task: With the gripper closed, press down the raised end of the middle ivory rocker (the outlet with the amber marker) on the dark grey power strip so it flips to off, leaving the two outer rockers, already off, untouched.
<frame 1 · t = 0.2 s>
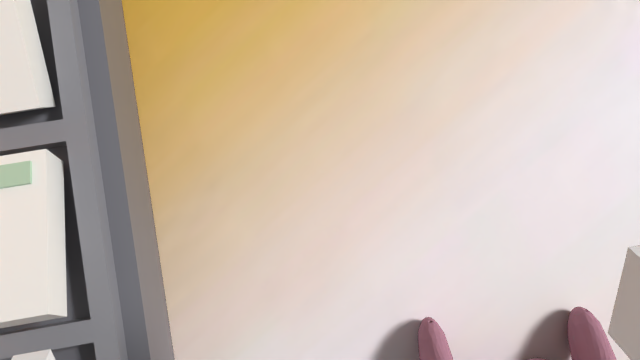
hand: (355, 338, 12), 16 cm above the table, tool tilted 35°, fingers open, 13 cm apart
rocker 2: (7, 239, 22), point 6 cm above the table, hinge at 14.0°
power strip: (69, 235, 28), on the table
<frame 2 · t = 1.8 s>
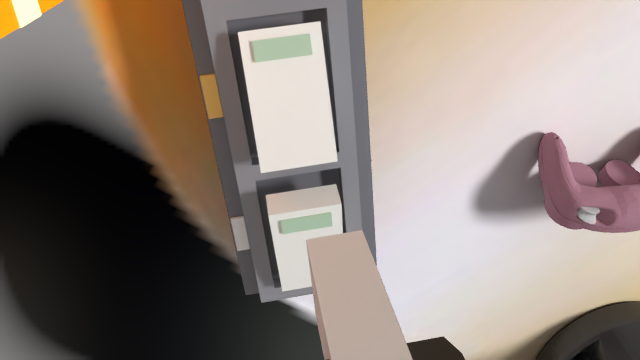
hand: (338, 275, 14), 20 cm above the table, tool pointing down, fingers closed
rocker 1: (307, 241, 31), point 6 cm above the table, hinge at -14.0°
rocker 2: (288, 98, 26), point 6 cm above the table, hinge at 14.0°
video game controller: (588, 160, 39), on the table
power strip: (279, 65, 32), on the table
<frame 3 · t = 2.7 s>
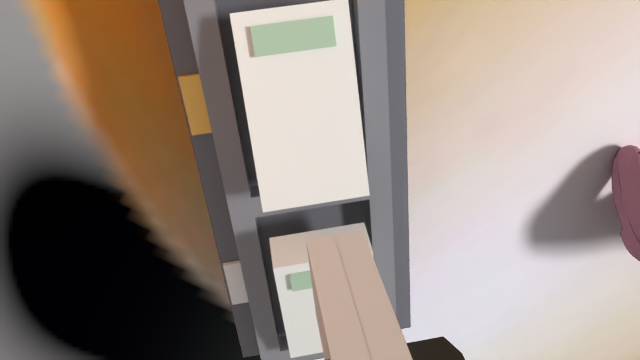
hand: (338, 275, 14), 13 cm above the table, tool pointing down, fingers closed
rocker 1: (325, 296, 23), point 6 cm above the table, hinge at -14.0°
rocker 2: (302, 107, 19), point 6 cm above the table, hinge at 14.0°
power strip: (287, 63, 24), on the table
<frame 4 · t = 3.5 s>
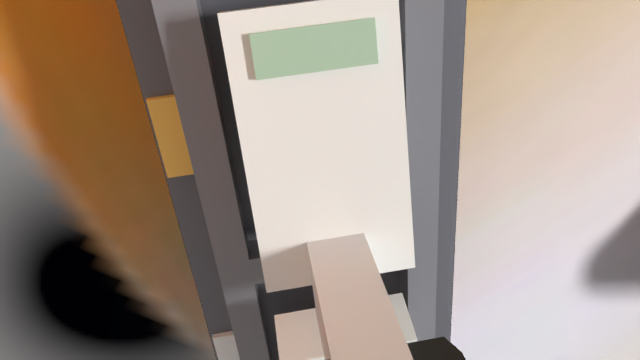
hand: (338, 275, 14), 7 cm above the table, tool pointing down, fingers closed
rocker 2: (322, 146, 13), point 6 cm above the table, hinge at 10.2°, touching gripper
power strip: (297, 72, 18), on the table
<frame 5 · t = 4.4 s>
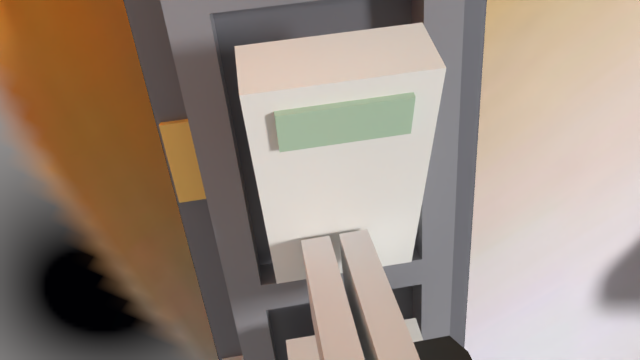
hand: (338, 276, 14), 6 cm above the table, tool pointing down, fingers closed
rocker 2: (339, 175, 13), point 6 cm above the table, hinge at -19.9°, touching gripper
power strip: (309, 93, 18), on the table
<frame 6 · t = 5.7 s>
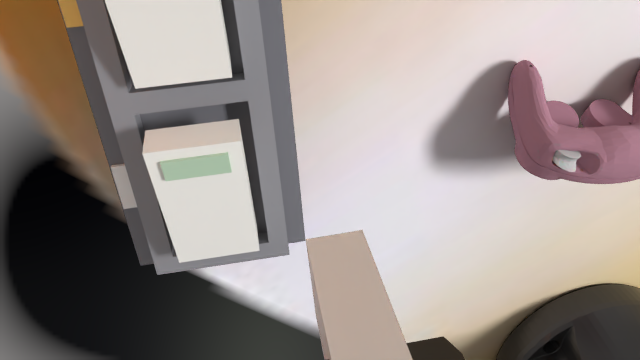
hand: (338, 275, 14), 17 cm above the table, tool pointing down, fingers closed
rocker 1: (207, 196, 24), point 6 cm above the table, hinge at -11.4°
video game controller: (569, 100, 32), on the table
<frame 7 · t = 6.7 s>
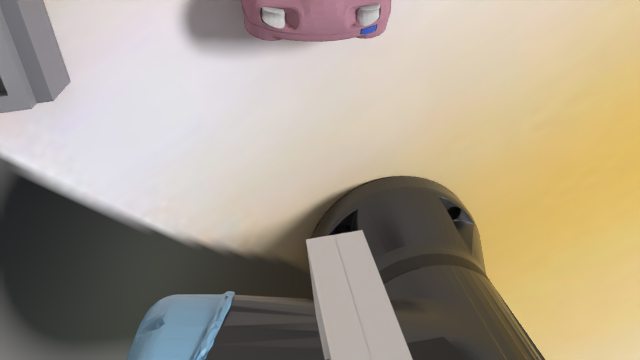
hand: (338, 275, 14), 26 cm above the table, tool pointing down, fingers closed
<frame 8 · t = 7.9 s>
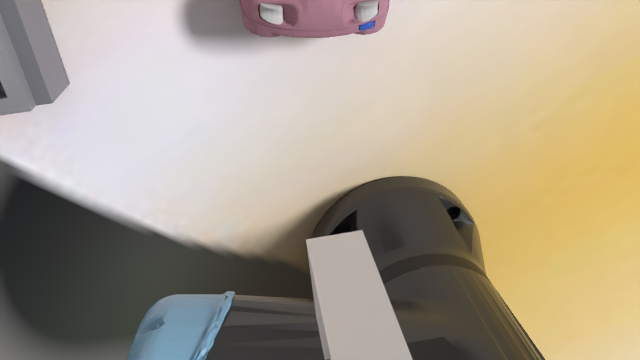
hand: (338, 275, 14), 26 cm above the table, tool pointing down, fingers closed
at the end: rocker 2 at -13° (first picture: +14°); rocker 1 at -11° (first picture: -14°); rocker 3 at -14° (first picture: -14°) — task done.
